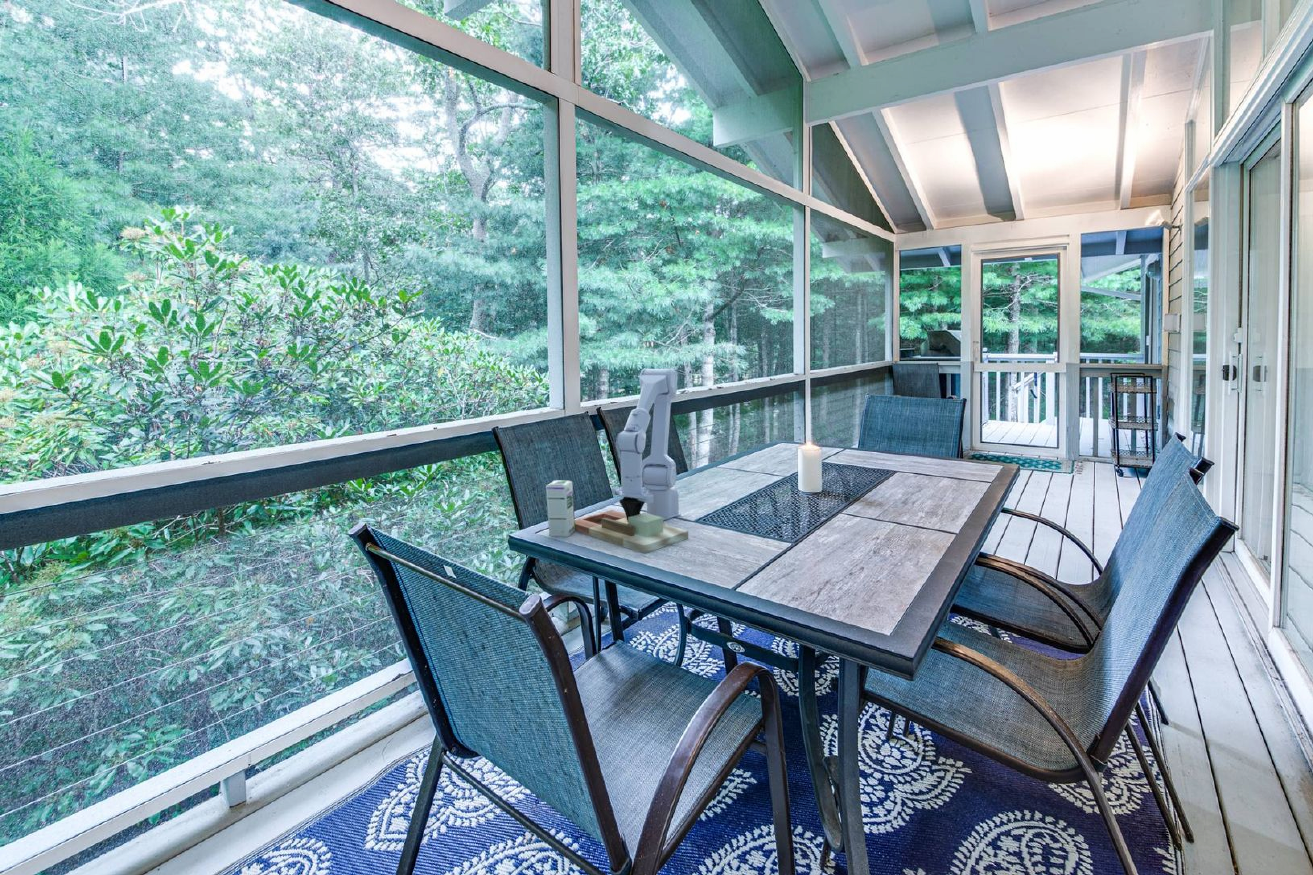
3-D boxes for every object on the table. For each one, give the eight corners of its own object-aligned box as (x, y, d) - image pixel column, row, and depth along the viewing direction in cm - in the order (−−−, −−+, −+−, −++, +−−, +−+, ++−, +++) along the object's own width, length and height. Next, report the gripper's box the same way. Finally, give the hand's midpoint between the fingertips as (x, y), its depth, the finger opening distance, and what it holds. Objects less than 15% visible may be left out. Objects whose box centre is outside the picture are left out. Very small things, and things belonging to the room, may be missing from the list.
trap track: (612, 516, 188) (611, 501, 188) (688, 538, 166) (687, 521, 166) (569, 528, 177) (568, 513, 177) (644, 553, 155) (644, 536, 155)
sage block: (645, 526, 171) (644, 512, 170) (663, 532, 166) (662, 517, 165) (628, 531, 167) (628, 517, 166) (646, 537, 162) (646, 522, 161)
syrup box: (568, 537, 170) (566, 484, 167) (548, 536, 171) (545, 484, 169) (575, 530, 175) (573, 480, 173) (555, 529, 176) (553, 479, 174)
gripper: (602, 474, 170) (604, 522, 172) (639, 482, 159) (640, 533, 162) (622, 470, 175) (623, 517, 177) (658, 477, 164) (659, 527, 166)
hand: (633, 524), depth 169 cm, fingers closed
